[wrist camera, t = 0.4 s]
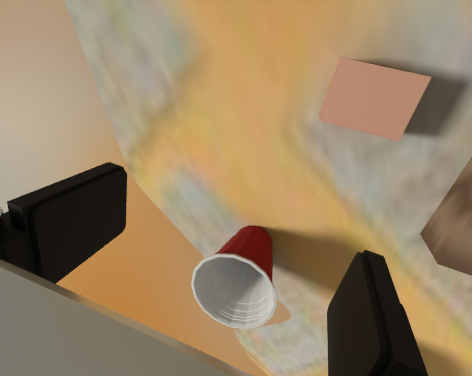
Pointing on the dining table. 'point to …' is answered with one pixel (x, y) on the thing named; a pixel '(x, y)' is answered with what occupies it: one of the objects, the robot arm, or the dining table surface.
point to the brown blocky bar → (453, 226)
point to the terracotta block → (372, 98)
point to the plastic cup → (238, 281)
